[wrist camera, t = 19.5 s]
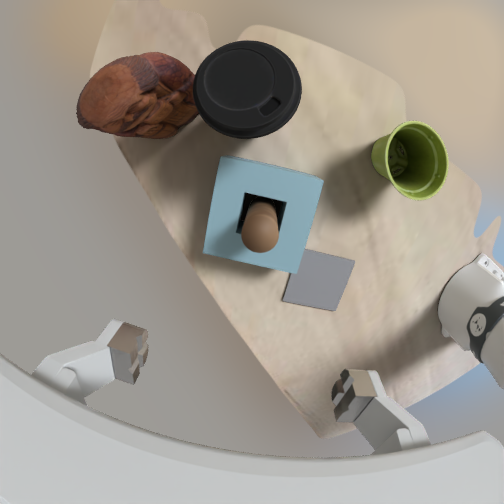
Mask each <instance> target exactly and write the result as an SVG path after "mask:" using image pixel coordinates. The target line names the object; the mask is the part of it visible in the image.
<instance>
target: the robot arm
mask: <svg viewBox="0 0 504 504" xmlns="http://www.w3.org/2000/svg"><path fill="white" fill-rule="evenodd" d="M438 317H439V320H440V322H441V324H442V335H443V336H444V337H452V338H453V339H454V340H455V342H456V343H457V344H458V345H459V346H460V347H461V348H462V349H463V350H464V351H466V350H468V351H469V350H471V351H472V353H473V354H474V356H475V358H476V359H478V360H479V361H480V362H481V363H484V364H485V366H486V367H487V369H488V370H489V371H490V373H491V374H492V376H493V377H494V379H495V380H496V382H497V383H498V385H499V386H500V387H501V388H502V389H504V272H503V271H502V270H501V269H500V268H499V267H498V266H497V265H496V264H495V263H494V262H493V261H492V260H491V259H490V258H489V257H488V256H486V255H485V254H484V253H481V254H480V255H479V256H478V257H477V258H476V259H475V260H474V261H473V262H472V263H470V264H469V265H467V266H465V267H463V268H462V269H460V270H459V271H458V272H457V273H456V274H455V275H454V276H453V277H452V278H451V280H450V281H449V283H448V284H447V286H446V287H445V289H444V291H443V293H442V296H441V298H440V301H439V306H438ZM147 338H148V331H147V330H146V329H143V328H140V327H137V326H135V325H131V324H129V323H126V322H122V321H120V320H117V319H112V320H111V321H110V323H109V324H108V325H107V326H106V328H105V329H104V330H103V331H102V333H101V334H100V335H99V337H98V338H97V339H96V340H95V341H92V340H91V341H88V342H86V343H83V344H80V345H77V346H74V347H72V348H69V349H66V350H63V351H60V352H57V353H55V354H52V355H49V356H46V357H45V359H44V360H43V361H42V362H41V363H40V365H39V366H38V367H37V368H36V370H35V371H34V372H33V373H32V375H30V374H29V373H28V372H26V371H24V370H23V369H22V368H20V367H18V366H17V365H16V364H14V363H13V362H12V361H10V360H9V359H7V358H6V357H5V356H3V355H2V354H1V353H0V504H504V448H503V446H502V444H501V443H500V442H499V441H498V440H497V439H496V438H494V437H493V436H492V435H490V434H489V433H487V432H485V431H482V430H481V431H477V432H474V433H471V434H468V435H465V436H462V437H458V438H455V439H452V440H448V441H444V442H441V443H437V444H433V445H431V444H430V441H429V439H428V436H427V434H426V431H425V428H424V426H423V425H422V424H421V423H420V422H419V421H418V420H416V419H415V418H414V417H413V416H412V415H411V414H409V413H408V412H407V411H406V410H405V409H403V408H402V407H401V406H400V405H399V404H398V403H396V402H395V401H394V400H393V399H392V398H391V397H387V395H386V392H385V390H384V387H383V385H382V382H381V380H380V377H379V375H378V372H377V371H375V370H355V369H344V370H343V371H342V373H341V374H340V376H341V379H340V380H338V381H336V383H335V384H334V386H333V389H332V402H333V403H334V404H335V405H336V407H335V409H334V413H335V418H336V422H354V425H355V426H356V427H357V428H358V429H359V431H360V432H361V433H362V435H363V436H364V437H365V438H366V440H367V441H368V442H369V443H370V445H371V446H372V447H373V448H374V450H375V451H374V452H373V453H372V454H371V455H365V456H353V457H331V458H330V457H329V458H307V457H306V458H305V457H283V456H270V455H260V454H252V453H244V452H237V451H231V450H225V449H219V448H214V447H208V446H204V445H200V444H195V443H191V442H187V441H183V440H179V439H175V438H172V437H168V436H165V435H161V434H158V433H155V432H152V431H149V430H146V429H143V428H140V427H137V426H134V425H131V424H129V423H126V422H123V421H121V420H118V419H116V418H113V417H111V416H109V415H106V414H104V413H101V412H99V411H97V410H95V409H93V408H90V407H88V406H87V404H86V402H85V399H84V397H86V396H88V395H90V394H91V393H93V392H95V391H97V390H98V389H100V388H101V387H103V386H105V385H107V384H108V383H110V382H112V381H113V380H115V379H119V380H122V381H124V382H127V383H130V384H133V385H134V384H135V382H136V380H137V378H138V376H139V374H140V372H139V368H140V367H142V366H144V364H145V362H146V358H147V355H148V344H147V343H146V340H147Z"/></svg>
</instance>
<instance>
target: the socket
mask: <svg viewBox="0 0 504 504" xmlns="http://www.w3.org/2000/svg"><path fill="white" fill-rule="evenodd" d="M323 182H324V181H323V180H322V179H320V178H318V177H316V176H314V175H310V174H307V173H303V172H299V171H295V170H291V169H288V168H283V167H279V166H275V165H271V164H267V163H262V162H258V161H253V160H249V159H244V158H239V157H234V156H229V155H227V156H221V157H220V162H219V166H218V171H217V176H216V181H215V187H214V192H213V197H212V203H211V208H210V213H209V219H208V225H207V231H206V237H205V243H204V249H203V253H205V254H209V255H213V256H218V257H222V258H227V259H231V260H235V261H240V262H244V263H249V264H253V265H258V266H262V267H267V268H271V269H276V270H280V271H285V272H289V273H294V274H297V271H298V268H299V265H300V262H301V259H302V255H303V252H304V249H305V246H306V242H307V239H308V236H309V232H310V229H311V225H312V222H313V218H314V215H315V211H316V208H317V204H318V201H319V197H320V194H321V190H322V186H323ZM246 193H250V194H255V195H259V196H263V197H268V198H272V199H276V200H280V201H282V204H281V208H280V212H279V216H278V220H277V224H278V231H279V239H278V242H277V244H276V245H275V247H274V248H273V249H271V250H270V251H268V252H265V253H256V252H253V251H251V250H249V249H248V248H247V247H246V246H245V245H244V244H243V241H242V238H241V232H242V228H243V225H244V222H245V221H242V220H241V215H242V211H243V206H244V201H245V197H246Z"/></svg>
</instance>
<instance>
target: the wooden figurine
mask: <svg viewBox="0 0 504 504" xmlns="http://www.w3.org/2000/svg"><path fill="white" fill-rule="evenodd" d="M194 77H195V75H194V74H193V73H192V72H191V71H190V69H189V68H188V67H187V66H186V65H184V64H183V63H182V62H180V61H179V60H177V59H175V58H173V57H171V56H169V55H166V54H163V53H159V52H149V53H144V54H141V55H134V56H129V57H127V56H126V57H122V58H119V59H116V60H115V61H112V62H111V63H109V64H107V65H105V66H104V67H103V68H101V69H100V70H99V71H98V72H97V73H95V75H94V76H93V77H92V78H91V79H90V80H89V82H88V83H87V84H86V85H85V87H84V89H83V90H82V92H81V94H80V96H79V99H78V103H77V113H76V114H77V118H78V123H79V124H80V125H81V126H83V128H87V129H96V130H100V131H101V132H105V133H109V134H115V135H116V136H123V137H143V138H151V139H163V138H168V137H171V136H173V135H175V134H176V133H177V132H178V128H179V127H181V126H183V125H186V124H188V123H189V122H191V121H192V120H194V118H195V117H196V115H197V114H199V112H198V110H197V108H196V105H195V102H194V99H193V81H194Z"/></svg>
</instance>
